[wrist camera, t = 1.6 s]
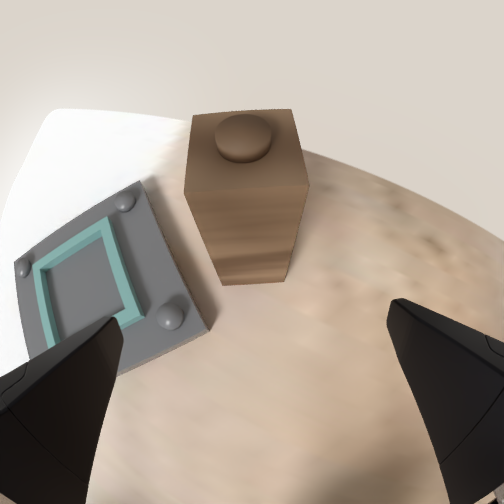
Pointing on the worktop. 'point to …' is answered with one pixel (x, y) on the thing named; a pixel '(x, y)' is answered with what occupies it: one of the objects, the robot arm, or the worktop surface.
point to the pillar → (246, 191)
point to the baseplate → (108, 282)
